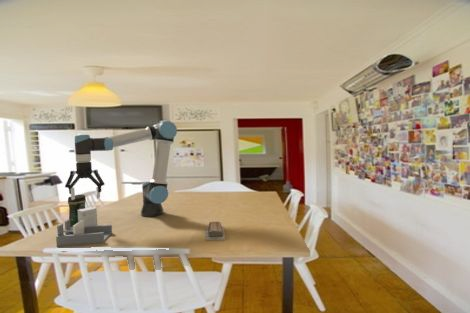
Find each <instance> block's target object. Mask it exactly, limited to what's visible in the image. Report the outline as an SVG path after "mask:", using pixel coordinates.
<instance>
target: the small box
mask: <svg viewBox="0 0 470 313" xmlns="http://www.w3.org/2000/svg"><path fill="white" fill-rule="evenodd" d="M81 220H84V227H87V226H99V225H98V224H99V223H98V211H97V207H93V206H90V207H85V208H84V209H80V210H78V222H79V221H81Z"/></svg>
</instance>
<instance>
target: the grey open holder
mask: <svg viewBox="0 0 470 313" xmlns="http://www.w3.org/2000/svg"><path fill="white" fill-rule="evenodd" d="M72 228H73V230H65V229H63V232H64V233H66V232H73V235H74V234H85V231H84V220H81V221H79V222H78V223H76V224H75V225H73V226H72Z"/></svg>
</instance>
